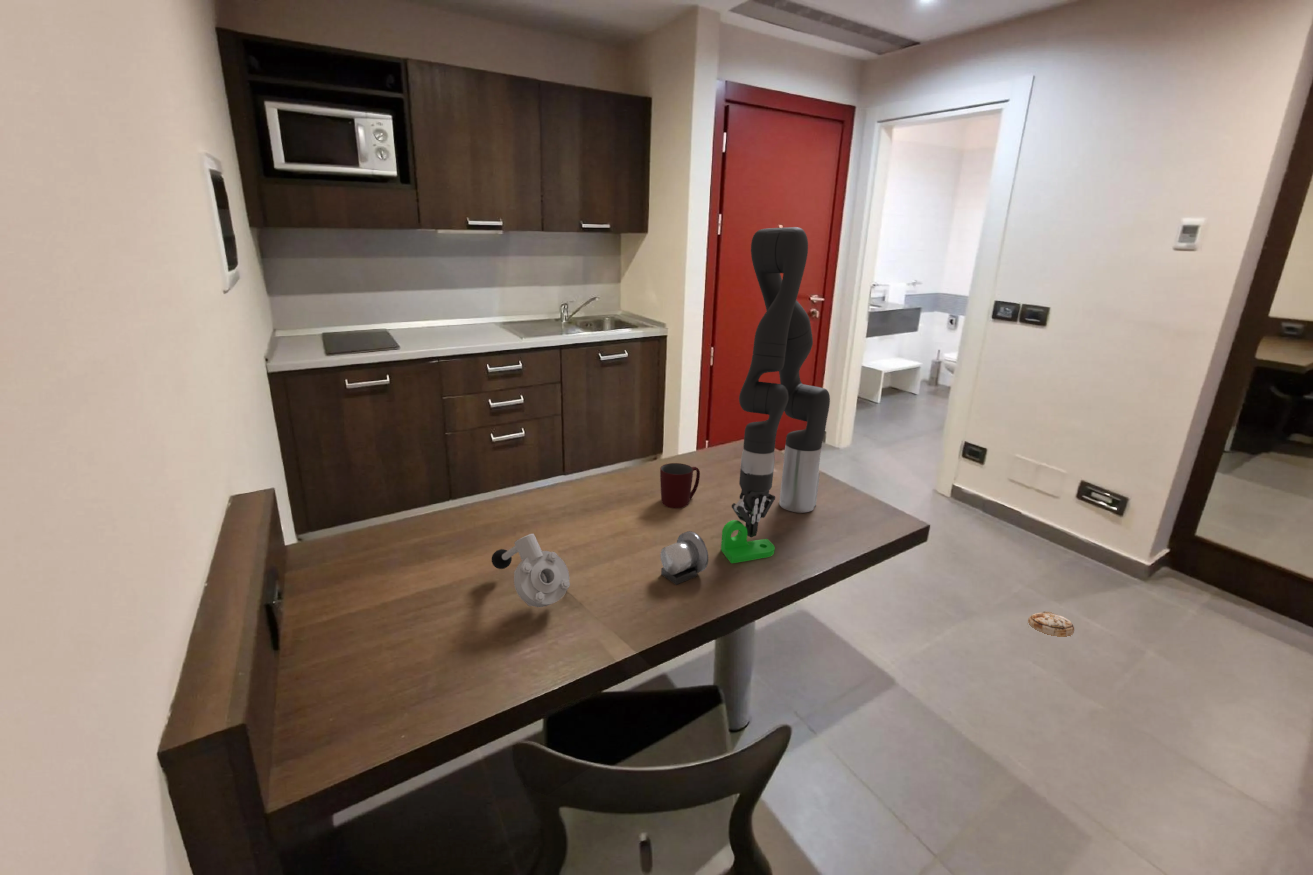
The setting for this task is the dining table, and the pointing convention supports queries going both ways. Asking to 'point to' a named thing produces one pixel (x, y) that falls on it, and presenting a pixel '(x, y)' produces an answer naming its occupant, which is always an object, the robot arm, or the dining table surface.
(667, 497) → the mug
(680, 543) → the grey mushroom knob
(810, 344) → the robot arm
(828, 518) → the dining table surface
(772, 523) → the dining table surface
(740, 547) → the mechanical part
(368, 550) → the dining table surface
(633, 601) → the dining table surface
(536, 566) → the mechanical valve
